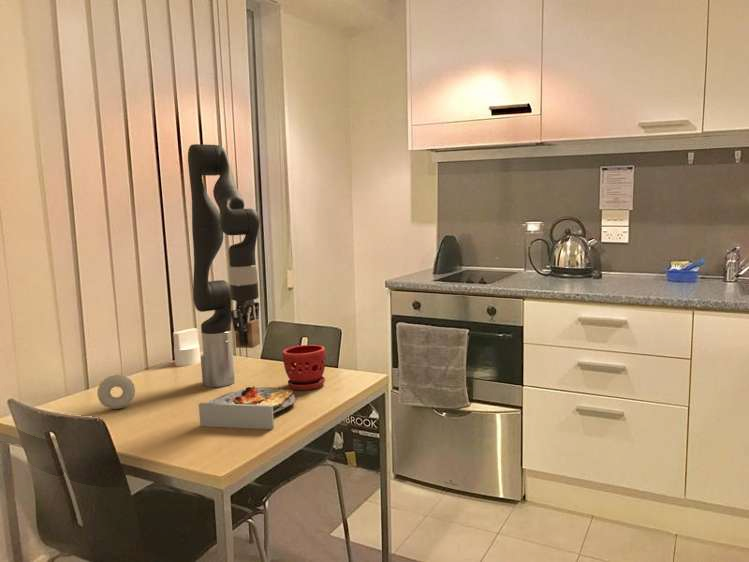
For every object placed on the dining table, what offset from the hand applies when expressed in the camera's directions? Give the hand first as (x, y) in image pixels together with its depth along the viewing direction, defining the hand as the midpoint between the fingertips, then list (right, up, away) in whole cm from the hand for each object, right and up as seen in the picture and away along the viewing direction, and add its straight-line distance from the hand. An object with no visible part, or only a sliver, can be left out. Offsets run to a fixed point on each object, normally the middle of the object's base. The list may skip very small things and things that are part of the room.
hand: (247, 342), depth 166 cm
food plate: (+1, -19, +2) cm, 19 cm away
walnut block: (0, -1, 0) cm, 1 cm away
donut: (-38, -20, +6) cm, 44 cm away
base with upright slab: (-33, -13, +54) cm, 65 cm away
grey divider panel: (0, -21, -12) cm, 24 cm away
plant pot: (+14, -16, +21) cm, 30 cm away
